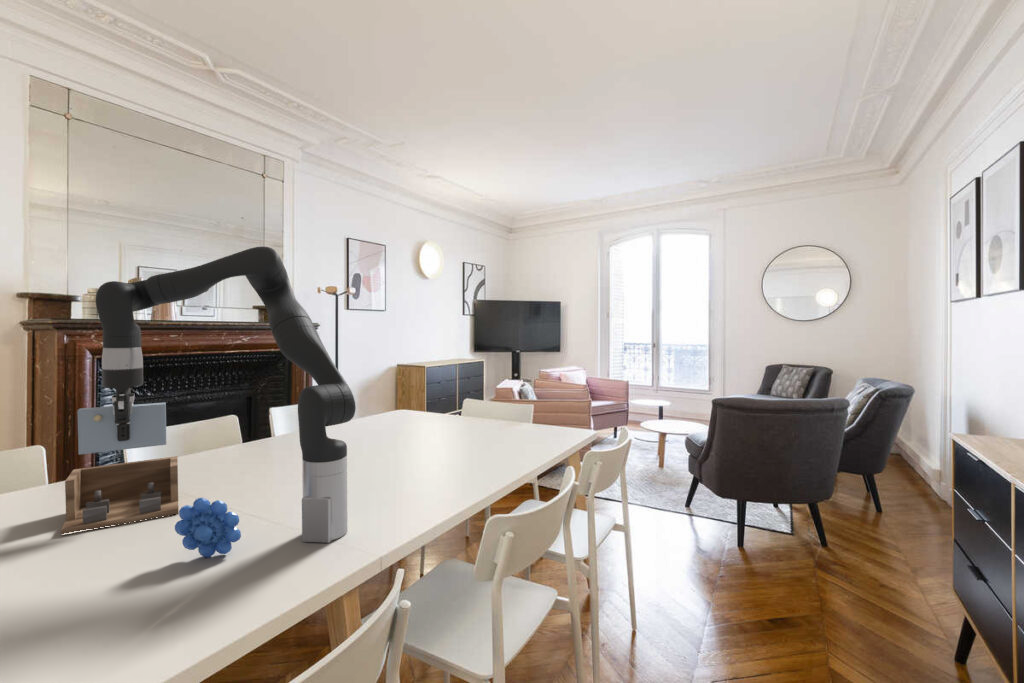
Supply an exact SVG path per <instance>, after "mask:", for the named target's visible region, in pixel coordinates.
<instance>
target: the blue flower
mask: <svg viewBox="0 0 1024 683" xmlns="http://www.w3.org/2000/svg"><path fill="white" fill-rule="evenodd" d="M178 515H179V518H180V520H179V521H177V522H176V523H175V525H174V531H175V532H176V534H178V535H179V536H182V537H183V536H184V537H183V538H182V546H183V547H184V549H186V550H189V551H193V550H196V549H197V550H198V553H199V555H200V556H201V557H204V558H210V557H211V556H214V555H215V553H216V552H217V553H219V554H220V555H226V554H228V553H229V552H231V550H232V546H233V544H232V543H236V542H237V541H238V542H239V540H240V539H241V537H242V532H241V530H240V529H239V528H238V527H236V526H238V525H239V523H240V517H239V515H238V514H237V513H235V512H233V511H228V505H227V503H226V502H225V501H223V500H215V501H213V502H210V500H209V499H207V498H205V497H198V498H195V500H194V502H193V503H192V505H189V504H186V505H184V506H182V507H181V508H180V509H178Z"/></svg>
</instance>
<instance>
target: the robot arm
mask: <svg viewBox="0 0 1024 683" xmlns="http://www.w3.org/2000/svg"><path fill="white" fill-rule="evenodd" d="M283 263H284V262H283V261H282V259H281V257H280V255H279V253H278V251H276V250H275V249H274V248H272V247H269V246H256V247H251V248H248V249H245V250H241V251H238V252H236V253H233V254H230V255H226V256H223V257H220V258H218V259H215V260H212V261H209V262H207V263H203V264H200V265H197V266H194V267H189V268H185V269H181V270H175V271H170V272H164V273H160V274H156V275H152V276H150V277H148V278H147V279H144V280H138V281H133V282H123V281H116V280H115V281H107V282H104V283H103V284H101V285H100V286H99V288H98V289H97V291H96V294H95V306H96V311H97V314H98V318H99V322H100V325H101V328H102V355H101V380H102V385H101V386H102V387H103V388H104V389H115V393H114V394H112V396H111V403H112V404H113V405H112V406H113V414H114V415H115V424H116V425H117V439H118V441H127V440H129V439H130V423H131V421H130V414H132V412H133V410H132V406H133V405H135V404H134V402H135V399H136V397H135V393H132V392H131V388H137V387H141V386H143V385H144V356H143V351H142V331H141V327H140V325H139V324H137V323H136V322H135V318H134V312H138V311H143V310H146V309H150V308H153V307H157V306H160V305H163V304H171V303H175V302H180V301H186V300H190V299H194V298H196V297H198V296H200V295H202V294H204V293H206V292H207V291H208V290H210V289H211V288H212V287H214V286H215V285H216V284H218V283H220V282H222V281H224V280H227V279H230V278H234V277H241V276H242V277H243V276H244V277H245V278H246V280H248V282H249V284H250V286H251V287H252V288H253V289H254V291H255V292H256V294H257V295H258V297H259V298H260V300H261V302H262V303H263V305H264V306H265V308H266V311H267V315H268V325H269V328H270V332H271V333H272V336H273V339H274V341H275V343H276V345H277V348H278V350H279V351H280V352H281V354H282V355H283V356H284V357H285V358H286V359H287V360H289V361H290V362H291V363H292V364H294V365H295V366H297V368H299V369H301V370H302V371H303V372H305V373H306V374H308V375H309V376H310V377H311V378H312V379H313V380H314V382H315V383H316V384H317V385H310V386H306V387H304V388H302V390H301V392H300V393H299V395H298V399H297V400H298V401H297V419H298V433H299V445H300V450H301V454H302V456H301V458H302V461H301V462H302V463H301V464H302V498H301V541H302V542H303V543H305V542H306V543H325V544H326V543H327V544H328V543H329V544H330V543H331V542H332V541H334V540H337V539H339V538H341V537H343V536H345V535H346V534H347V533H348V446H347V443H346V442H345V441H343V440H341V439H337V438H336V439H335V438H330V437H329V436H327V430H326V429H327V428H326V427H331V426H332V427H333V426H336V425H337V426H338V425H341V424H345V423H348V422H350V421H351V420H353V418H354V416H355V413H356V409H357V408H356V401H355V397H354V394H353V392H352V389H351V387H349V384H348V383H347V381H346V380H345V379H344V377H343V375H342V374H341V372H340V371H339V369H338V368H337V367H336V365H335V363H334V362H333V360H332V358H331V357H330V355H329V353H328V351H327V350H326V347H325V345H324V343H323V342H322V340H321V338H320V335H319V333H318V331H317V328H316V327H315V324H314V323H313V320H312V319H311V317H310V315H309V314H308V312H307V311H306V310H305V309H304V307H303V306H302V305H301V304H300V302H299V301H298V300H297V298H296V295H295V294H294V291H293V288H292V285H291V282H290V279H289V275H288V272H287V269H286V267H285V265H284V264H283ZM120 415H126V418H119V416H120Z"/></svg>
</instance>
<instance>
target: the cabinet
mask: <svg viewBox="0 0 1024 683" xmlns="http://www.w3.org/2000/svg"><path fill="white" fill-rule="evenodd" d="M178 463H179V462H178V456H169V457H162V458H154V459H145V460H137V461H130V462H129V461H127V462H121V463H113V464H107V465H106V464H104V465H96V466H91V467H90V466H88V467H81V468H75V469H74V468H73V470H72V471H71V473H69V475H68V477H66V479H65V481H64V486H65V489H64V491H65V492H64V494H65V497H64V498H65V522H64V523H63V525H62V527H61V529H60V535H61V534H64V533H69V532H74V531H80V530H86V529H94V528H100V527H105V526H111V525H118V524H124V523H129V522H134V521H140V520H145V519H151V518H156V517H162V516H167V517H169V516H168V515H173V514H178V515H179V472H178V469H179V468H178V466H179V465H178ZM173 516H174V515H173ZM162 518H163V517H162ZM151 520H152V519H151ZM140 522H141V521H140ZM124 525H125V524H124Z"/></svg>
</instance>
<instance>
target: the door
mask: <svg viewBox="0 0 1024 683" xmlns="http://www.w3.org/2000/svg"><path fill="white" fill-rule="evenodd" d="M132 410H133V412H132V414H130V421H131V423H130V439H129V440H127V441H118V439H117V425H116V424H115V415H114V414H113V405H112V406H97V407H86V408H85V407H83V408H78V409H77V412H76V413H77V440H78V441H77V442H78V444H77V445H78V447H77V448H78V455H87V454H96V453H97V454H98V453H106V452H112V451H115V452H116V451H121V450H123V451H124V450H129V449H131V450H132V449H139V448H140V449H141V448H148V447H156V446H157V447H158V446H166V445H167V405H166V402H153V403H140V404H139V403H138V404H134V405H133V406H132ZM119 418H126V415H120V416H119Z"/></svg>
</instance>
